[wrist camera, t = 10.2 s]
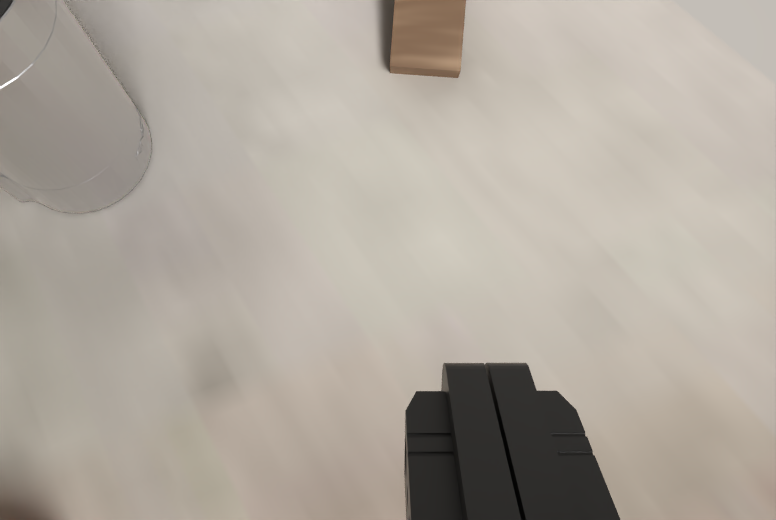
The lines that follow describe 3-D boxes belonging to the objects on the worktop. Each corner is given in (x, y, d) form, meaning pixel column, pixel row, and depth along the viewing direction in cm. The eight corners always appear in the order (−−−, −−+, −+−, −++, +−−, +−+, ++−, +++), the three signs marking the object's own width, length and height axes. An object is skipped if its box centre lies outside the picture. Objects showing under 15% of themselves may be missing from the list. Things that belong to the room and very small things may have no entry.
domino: (460, 71, 46) (471, -72, 46) (389, 66, 46) (400, -76, 46) (458, 77, 48) (468, -59, 48) (390, 73, 48) (400, -64, 48)
